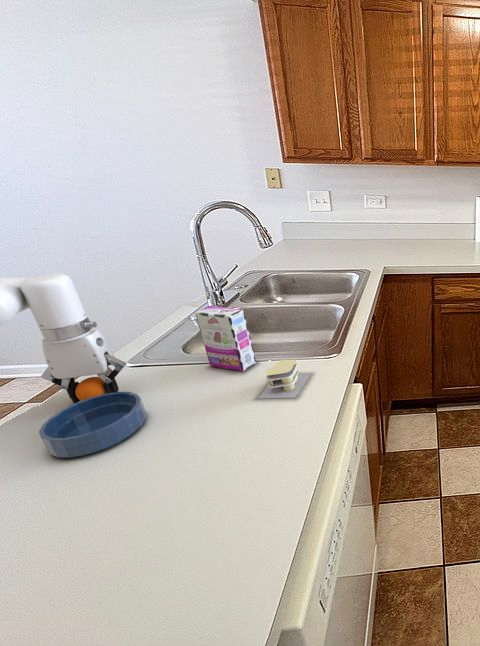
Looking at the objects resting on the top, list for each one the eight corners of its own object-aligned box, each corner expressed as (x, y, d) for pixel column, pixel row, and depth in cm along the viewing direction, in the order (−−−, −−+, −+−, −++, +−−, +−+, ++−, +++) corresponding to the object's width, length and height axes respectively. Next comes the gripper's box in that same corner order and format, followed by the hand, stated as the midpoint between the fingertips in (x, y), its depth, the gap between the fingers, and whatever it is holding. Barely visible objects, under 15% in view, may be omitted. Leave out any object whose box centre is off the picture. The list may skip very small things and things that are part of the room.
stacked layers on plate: (276, 375, 104) (272, 357, 102) (310, 374, 104) (307, 356, 102) (257, 398, 95) (252, 379, 93) (295, 397, 95) (291, 378, 93)
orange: (74, 410, 91) (64, 388, 89) (89, 395, 96) (80, 374, 94) (106, 405, 93) (97, 383, 90) (119, 390, 98) (111, 370, 96)
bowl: (29, 468, 75) (18, 447, 73) (78, 417, 89) (69, 398, 87) (126, 450, 79) (118, 430, 77) (159, 404, 93) (152, 386, 91)
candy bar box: (257, 362, 110) (244, 308, 104) (243, 372, 105) (229, 316, 99) (224, 357, 112) (209, 304, 106) (209, 367, 108) (193, 312, 102)
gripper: (122, 317, 93) (146, 382, 100) (29, 327, 88) (61, 394, 95) (105, 331, 86) (132, 399, 93) (3, 343, 82) (40, 414, 88)
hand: (96, 396), depth 94 cm, fingers closed on orange, 6 cm apart
